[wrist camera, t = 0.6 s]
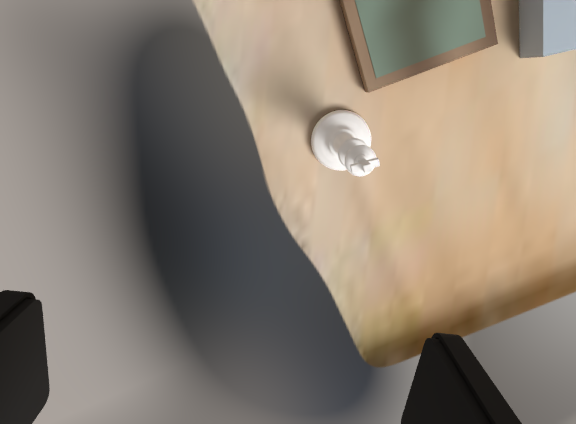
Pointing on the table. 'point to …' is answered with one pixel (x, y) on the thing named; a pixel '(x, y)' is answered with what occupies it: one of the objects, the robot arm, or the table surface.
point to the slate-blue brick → (546, 27)
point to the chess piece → (344, 143)
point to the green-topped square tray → (414, 35)
